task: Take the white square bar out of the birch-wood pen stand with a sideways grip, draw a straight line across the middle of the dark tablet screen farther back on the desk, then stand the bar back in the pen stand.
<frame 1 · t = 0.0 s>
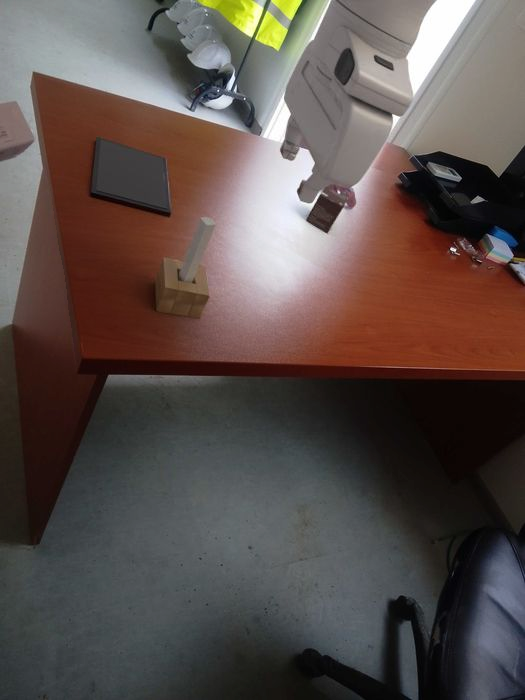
hand: (294, 176, 54), 26 cm above the table, tool pointing down, fingers open, 8 cm apart
white square bar: (191, 263, 66), in the pen stand
box: (318, 223, 109), on the table
tablet: (131, 177, 88), on the table
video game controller: (336, 199, 122), on the table
pen stand: (177, 299, 71), on the table
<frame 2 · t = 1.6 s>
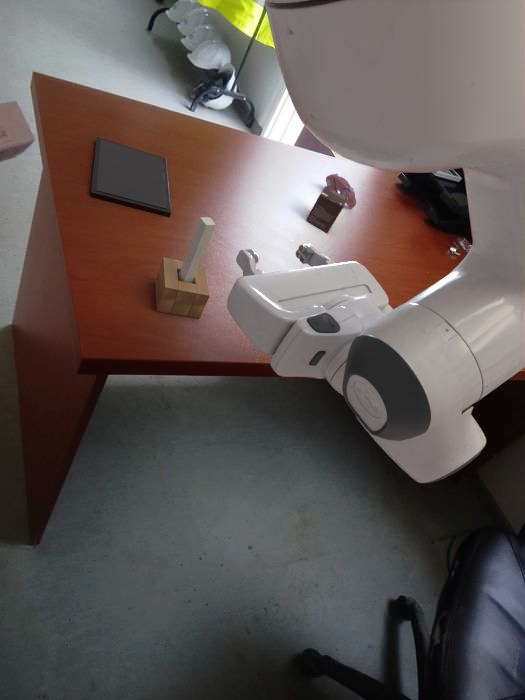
hand: (273, 251, 53), 20 cm above the table, tool horizontal, fingers open, 8 cm apart
nothing on the table moved.
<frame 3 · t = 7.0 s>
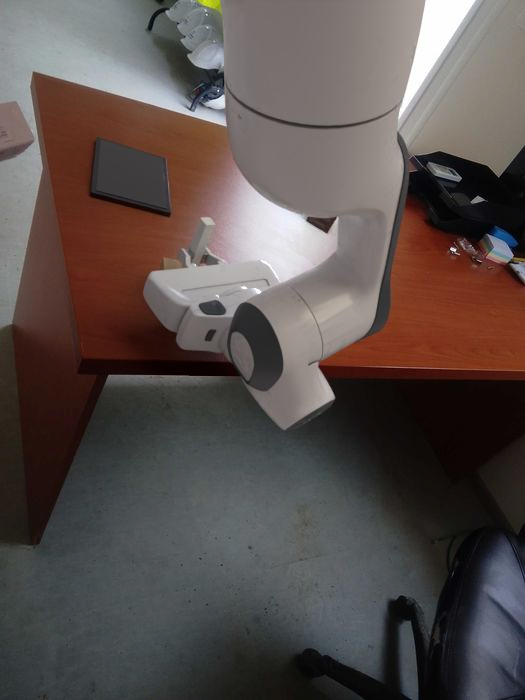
hand: (191, 251, 65), 9 cm above the table, tool horizontal, fingers closed on white square bar, 1 cm apart
white square bar: (191, 263, 66), in the pen stand, touching gripper
everything else where it was.
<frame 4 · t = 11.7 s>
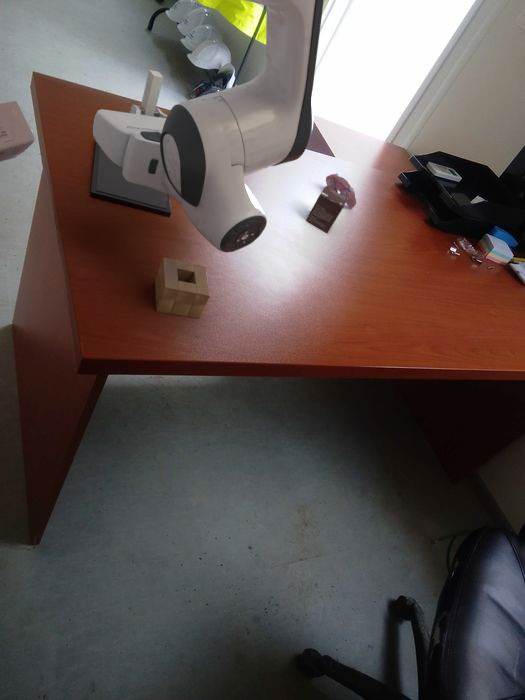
hand: (143, 110, 70), 17 cm above the table, tool horizontal, fingers closed on white square bar, 1 cm apart
white square bar: (144, 123, 70), point 16 cm above the table, touching gripper
everything else where it was.
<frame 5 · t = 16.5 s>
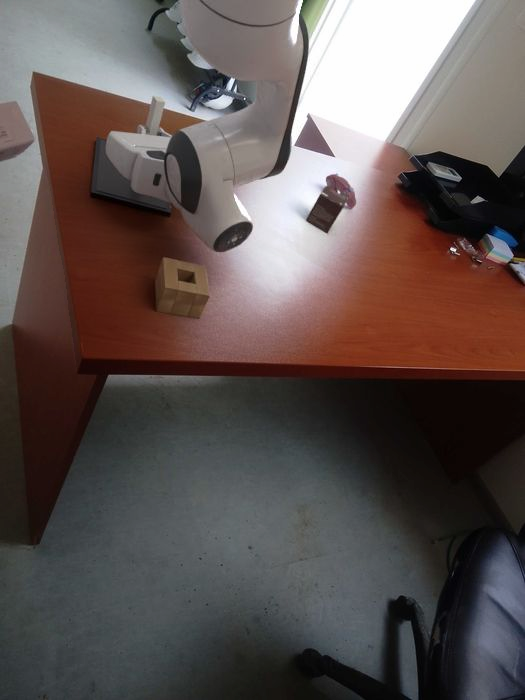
hand: (148, 129, 81), 10 cm above the table, tool horizontal, fingers closed on white square bar, 1 cm apart
white square bar: (148, 140, 81), point 9 cm above the table, touching gripper
everything else where it was.
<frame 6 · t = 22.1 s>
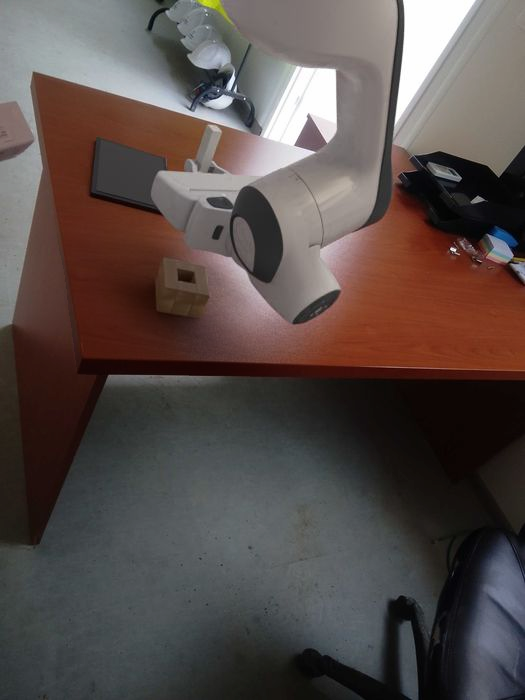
hand: (197, 164, 66), 17 cm above the table, tool horizontal, fingers closed on white square bar, 1 cm apart
white square bar: (197, 176, 67), point 16 cm above the table, touching gripper
everything else where it was.
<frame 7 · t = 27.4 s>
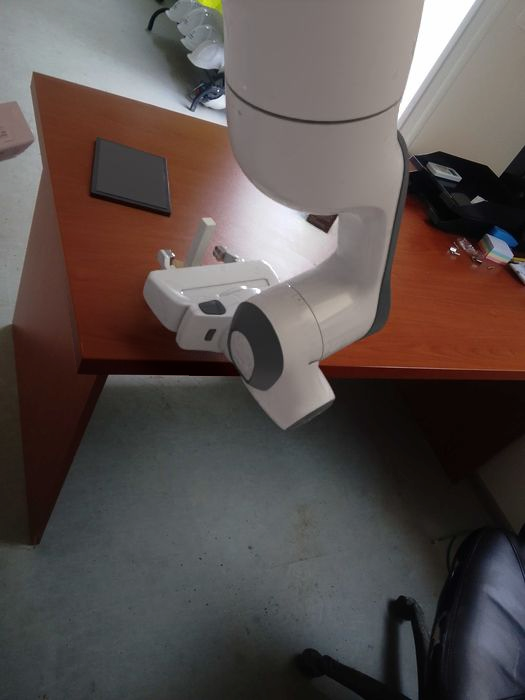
hand: (191, 250, 65), 9 cm above the table, tool horizontal, fingers open, 8 cm apart
white square bar: (192, 263, 66), in the pen stand
everything else where it was.
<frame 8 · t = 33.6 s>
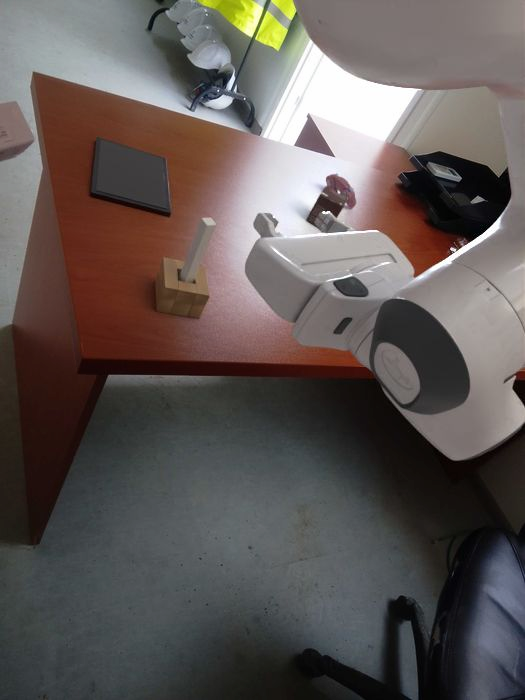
hand: (292, 217, 50), 25 cm above the table, tool horizontal, fingers open, 8 cm apart
nothing on the table moved.
at the end: white square bar 0.1 cm off-centre in the pen stand, point 7.5 cm above the pen stand's base; white square bar tilted 0°; white square bar touching table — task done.
